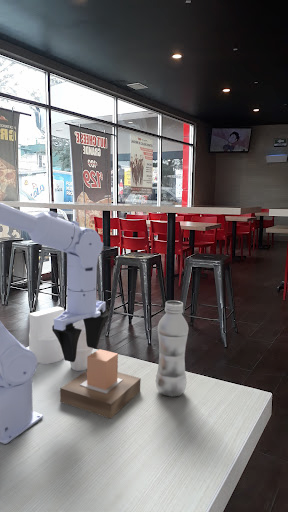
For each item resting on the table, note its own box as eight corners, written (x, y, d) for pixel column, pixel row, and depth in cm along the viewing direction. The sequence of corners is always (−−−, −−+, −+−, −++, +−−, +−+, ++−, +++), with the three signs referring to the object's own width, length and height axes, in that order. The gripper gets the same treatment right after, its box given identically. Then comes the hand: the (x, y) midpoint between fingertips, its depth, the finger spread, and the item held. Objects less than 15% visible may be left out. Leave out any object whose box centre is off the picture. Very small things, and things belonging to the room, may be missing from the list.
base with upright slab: (50, 346, 109) (50, 303, 107) (72, 355, 103) (72, 311, 101) (22, 356, 102) (21, 311, 100) (43, 366, 96) (43, 319, 94)
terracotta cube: (105, 389, 80) (106, 361, 79) (87, 384, 82) (87, 356, 81) (117, 380, 84) (117, 353, 83) (99, 375, 86) (99, 349, 85)
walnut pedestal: (110, 418, 75) (111, 403, 75) (60, 401, 81) (60, 387, 80) (140, 391, 86) (140, 377, 85) (93, 377, 91) (93, 364, 91)
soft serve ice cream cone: (59, 362, 99) (58, 300, 96) (91, 357, 102) (92, 297, 99) (67, 377, 91) (67, 310, 88) (102, 371, 95) (103, 306, 92)
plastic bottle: (175, 404, 81) (180, 309, 78) (148, 393, 85) (152, 303, 82) (191, 392, 86) (196, 302, 83) (165, 382, 90) (169, 296, 87)
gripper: (76, 299, 70) (75, 372, 72) (118, 283, 83) (117, 345, 85) (44, 293, 73) (45, 363, 75) (90, 279, 86) (89, 339, 88)
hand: (81, 353), depth 80 cm, fingers open, 7 cm apart
